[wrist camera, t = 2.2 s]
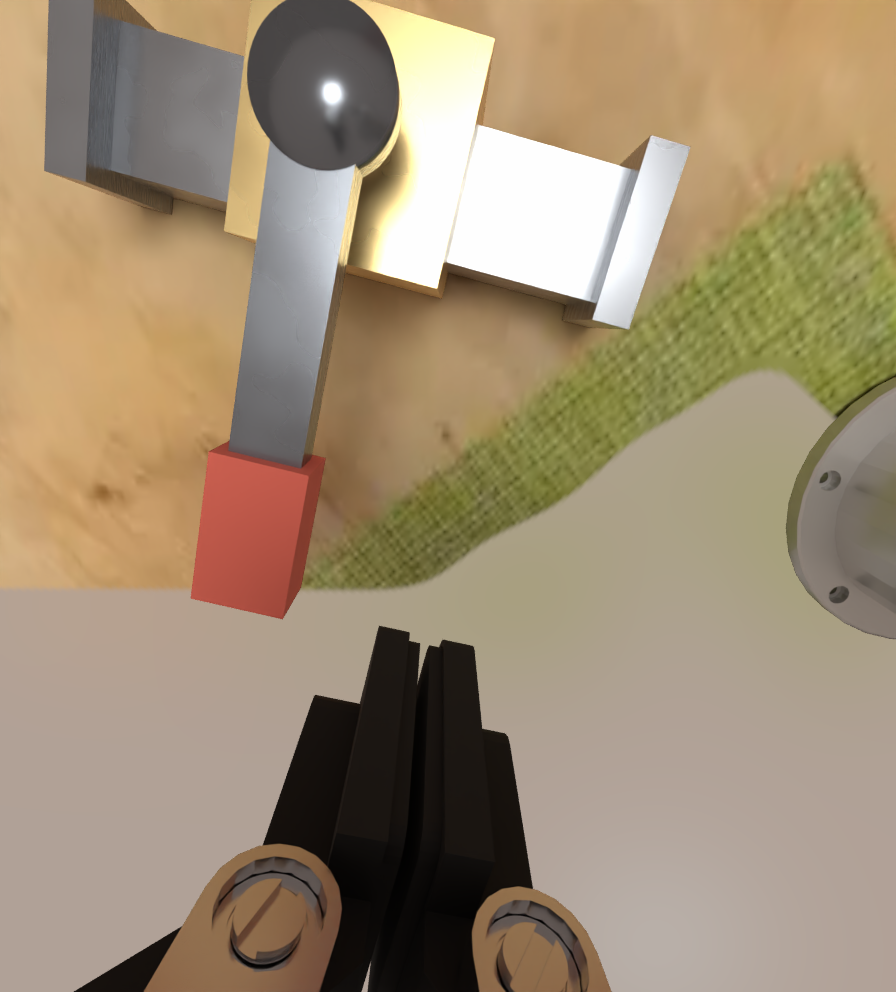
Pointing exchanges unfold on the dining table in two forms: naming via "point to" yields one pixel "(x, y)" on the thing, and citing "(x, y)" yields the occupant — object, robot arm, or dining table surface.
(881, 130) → the dining table surface
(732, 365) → the dining table surface
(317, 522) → the dining table surface
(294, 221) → the valve lever
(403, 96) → the valve pipe
